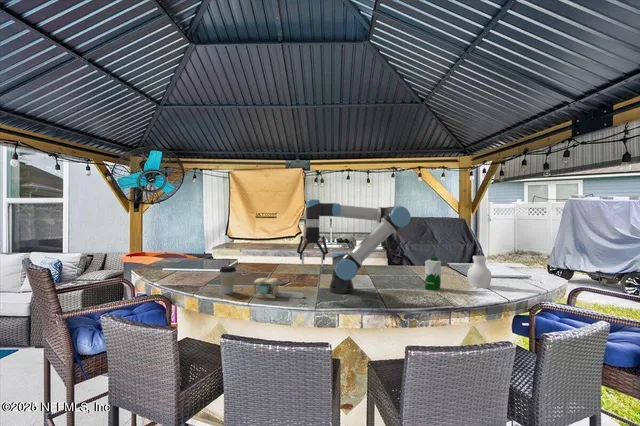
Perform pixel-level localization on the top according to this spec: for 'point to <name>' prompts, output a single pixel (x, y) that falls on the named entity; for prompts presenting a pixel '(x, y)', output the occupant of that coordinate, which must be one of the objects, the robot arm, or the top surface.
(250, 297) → the top surface
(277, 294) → the rod
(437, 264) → the milk carton
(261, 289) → the block
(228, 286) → the coffee cup
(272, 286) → the tunnel
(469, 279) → the vase
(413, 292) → the top surface
